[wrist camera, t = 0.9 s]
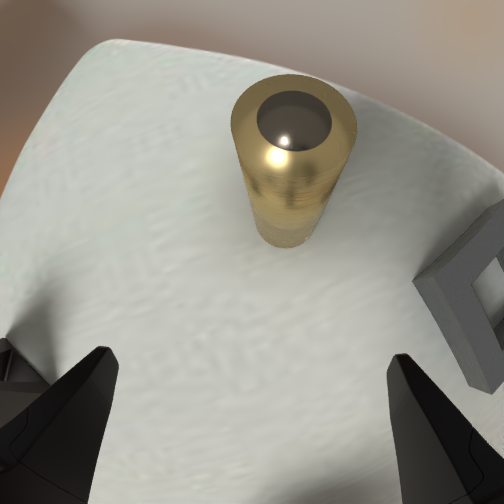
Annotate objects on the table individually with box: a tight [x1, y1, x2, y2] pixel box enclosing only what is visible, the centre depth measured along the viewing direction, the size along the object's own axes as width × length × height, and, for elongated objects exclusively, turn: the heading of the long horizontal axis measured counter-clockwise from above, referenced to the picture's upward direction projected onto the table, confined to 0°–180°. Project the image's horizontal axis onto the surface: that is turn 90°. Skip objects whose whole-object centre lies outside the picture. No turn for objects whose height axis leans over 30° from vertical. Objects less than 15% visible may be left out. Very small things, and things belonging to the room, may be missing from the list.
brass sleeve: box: [231, 74, 357, 248], centre depth 16 cm, size 4×4×13 cm
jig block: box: [412, 199, 504, 395], centre depth 19 cm, size 11×11×4 cm
